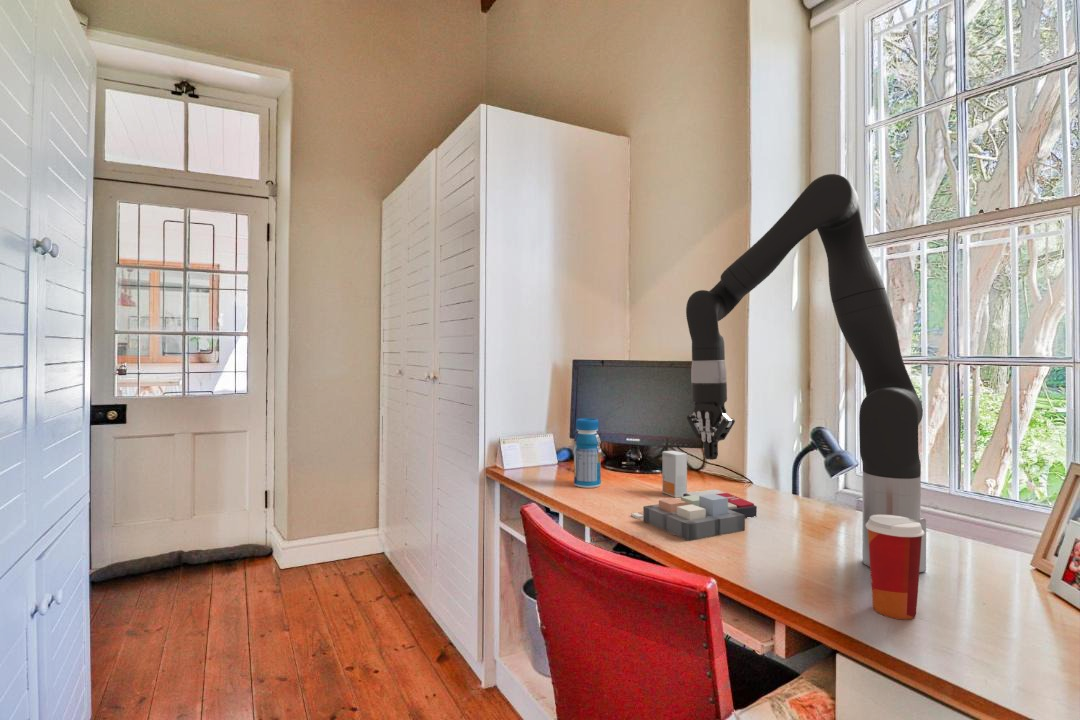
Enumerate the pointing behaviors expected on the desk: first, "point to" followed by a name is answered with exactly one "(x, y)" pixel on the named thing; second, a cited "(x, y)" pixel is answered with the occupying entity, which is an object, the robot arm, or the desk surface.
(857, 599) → the desk surface
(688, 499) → the sage key
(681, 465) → the skincare box
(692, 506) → the cream key
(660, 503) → the terracotta key
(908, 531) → the paper cup
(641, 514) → the strip
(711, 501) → the slate key
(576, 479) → the beverage bottle
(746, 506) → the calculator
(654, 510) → the keypad base
